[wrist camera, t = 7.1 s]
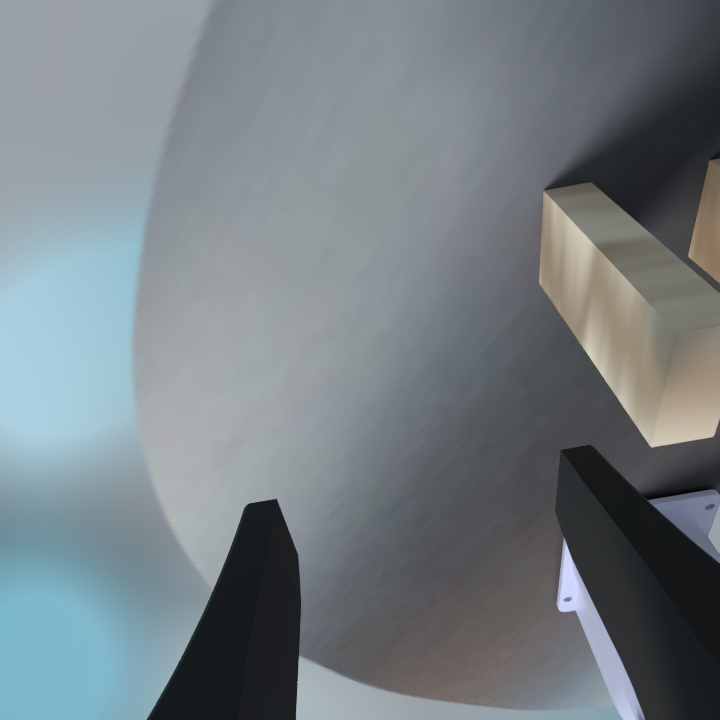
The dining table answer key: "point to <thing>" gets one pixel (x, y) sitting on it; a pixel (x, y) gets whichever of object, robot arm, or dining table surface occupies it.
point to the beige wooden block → (708, 224)
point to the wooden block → (634, 313)
